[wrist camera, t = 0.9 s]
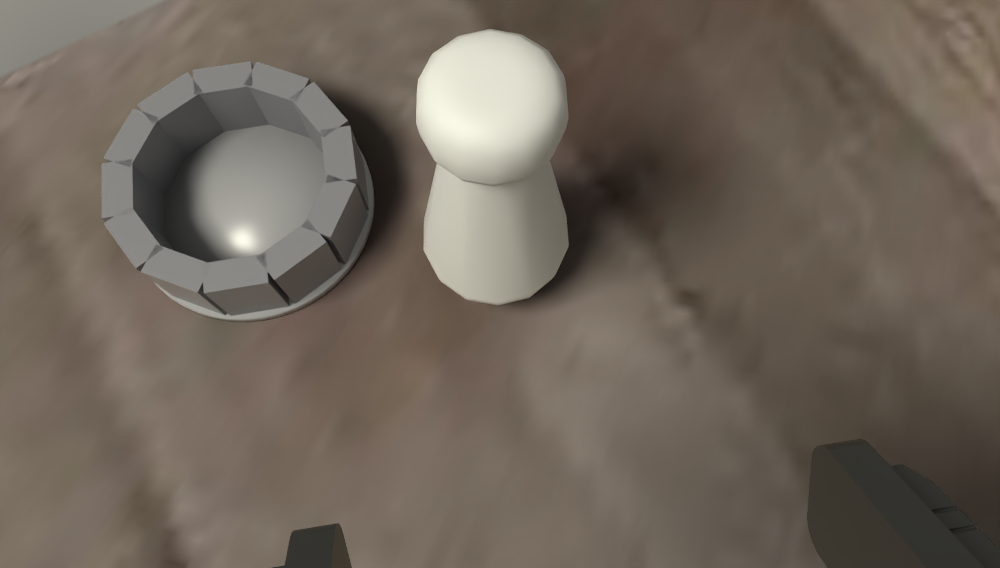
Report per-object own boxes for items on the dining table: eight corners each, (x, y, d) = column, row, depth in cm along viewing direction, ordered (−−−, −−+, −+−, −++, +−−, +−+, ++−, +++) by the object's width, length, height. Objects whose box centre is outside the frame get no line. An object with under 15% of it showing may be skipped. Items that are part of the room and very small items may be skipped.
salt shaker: (464, 174, 34) (441, -38, 21) (583, 222, 33) (631, 31, 21) (405, 288, 32) (345, 129, 20) (530, 342, 31) (548, 211, 19)
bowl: (360, 89, 35) (346, 42, 32) (388, 299, 32) (375, 271, 28) (134, 123, 35) (95, 79, 31) (138, 341, 31) (95, 317, 28)
